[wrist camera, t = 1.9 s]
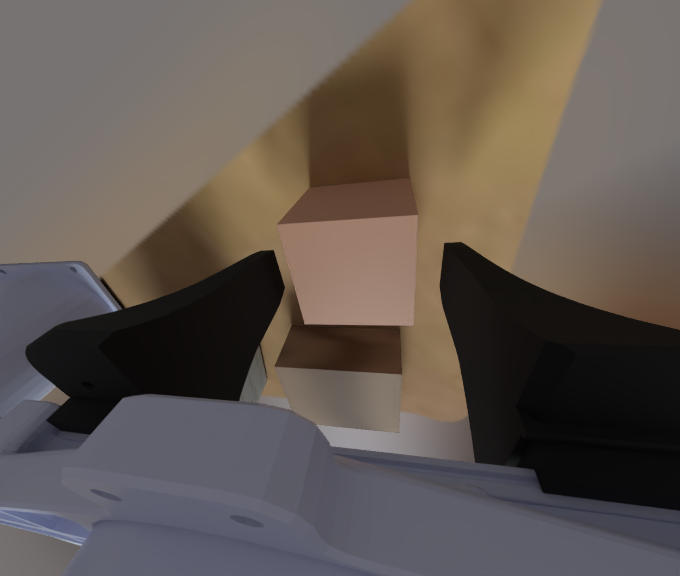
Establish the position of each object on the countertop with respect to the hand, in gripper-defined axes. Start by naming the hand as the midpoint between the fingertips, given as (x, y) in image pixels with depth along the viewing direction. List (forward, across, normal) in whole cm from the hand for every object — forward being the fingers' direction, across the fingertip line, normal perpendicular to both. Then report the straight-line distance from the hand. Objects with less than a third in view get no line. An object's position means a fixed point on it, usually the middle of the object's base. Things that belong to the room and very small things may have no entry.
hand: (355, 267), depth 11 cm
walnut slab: (+4, +2, +11) cm, 12 cm away
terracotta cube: (+4, 0, 0) cm, 4 cm away
